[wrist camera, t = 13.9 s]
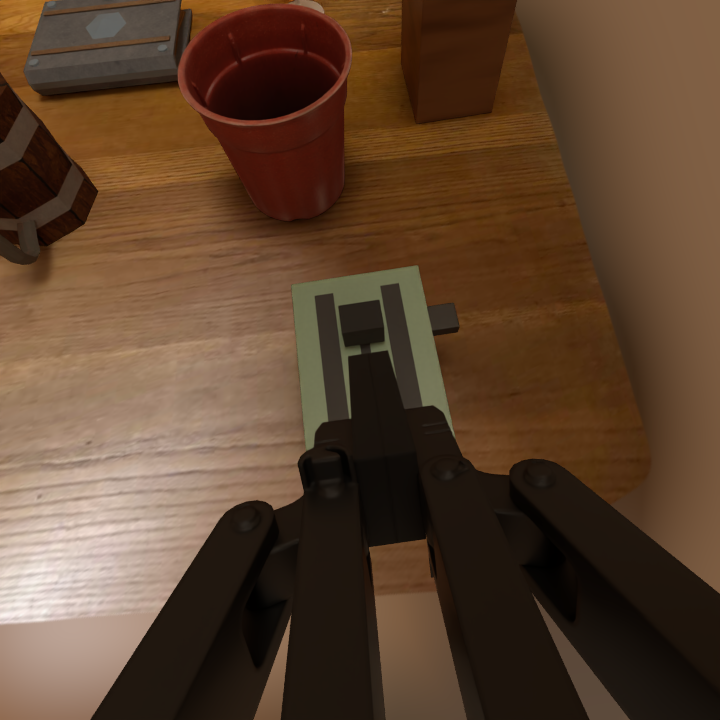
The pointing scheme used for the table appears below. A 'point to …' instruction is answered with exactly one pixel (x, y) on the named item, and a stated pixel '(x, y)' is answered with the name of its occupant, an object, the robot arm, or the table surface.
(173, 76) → the book
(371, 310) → the slider
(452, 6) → the red button pedestal
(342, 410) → the toaster
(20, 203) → the mug
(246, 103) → the flower pot
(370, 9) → the table surface
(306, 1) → the wineglass
